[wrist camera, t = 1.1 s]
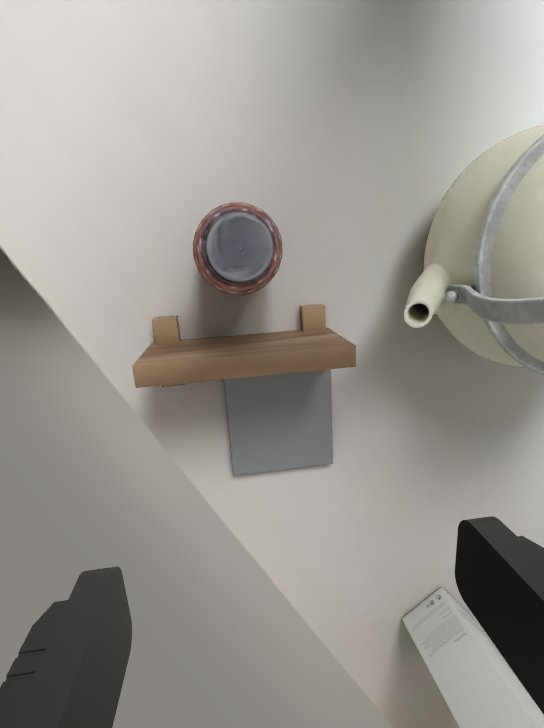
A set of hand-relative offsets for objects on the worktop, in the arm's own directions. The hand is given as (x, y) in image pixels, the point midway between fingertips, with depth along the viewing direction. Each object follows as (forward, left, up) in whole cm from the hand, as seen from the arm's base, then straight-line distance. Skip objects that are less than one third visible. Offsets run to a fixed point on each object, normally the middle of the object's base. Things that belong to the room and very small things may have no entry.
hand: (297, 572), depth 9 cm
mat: (+8, +3, -28) cm, 29 cm away
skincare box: (+36, +21, -28) cm, 50 cm away
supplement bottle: (-8, 0, -28) cm, 29 cm away
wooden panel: (0, 0, -28) cm, 28 cm away
